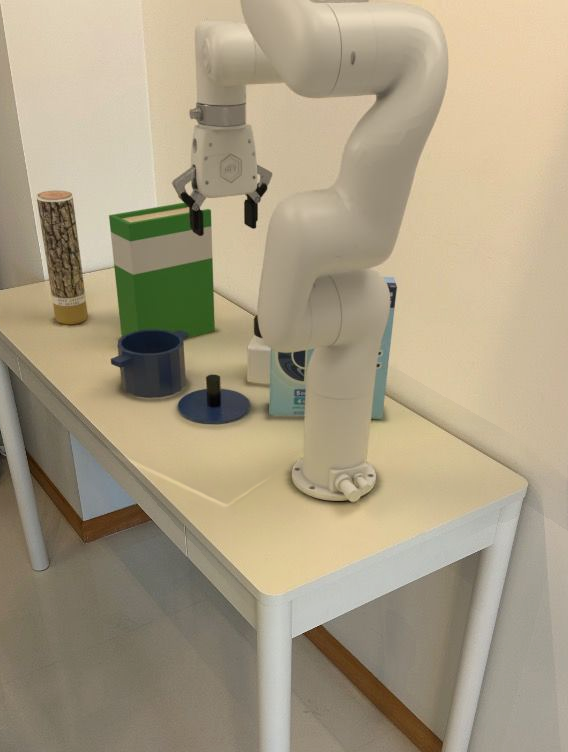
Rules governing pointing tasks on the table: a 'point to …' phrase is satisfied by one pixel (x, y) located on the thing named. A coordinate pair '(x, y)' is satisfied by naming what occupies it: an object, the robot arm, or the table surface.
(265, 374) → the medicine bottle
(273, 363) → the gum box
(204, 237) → the hardback book
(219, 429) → the table surface
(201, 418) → the lid
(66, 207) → the paper tube
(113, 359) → the pot
